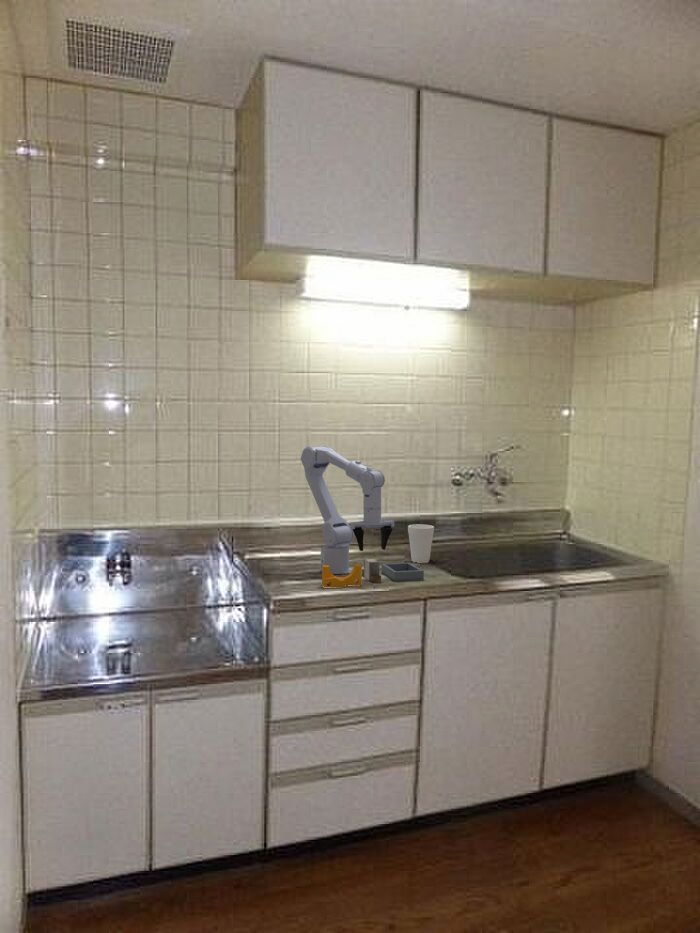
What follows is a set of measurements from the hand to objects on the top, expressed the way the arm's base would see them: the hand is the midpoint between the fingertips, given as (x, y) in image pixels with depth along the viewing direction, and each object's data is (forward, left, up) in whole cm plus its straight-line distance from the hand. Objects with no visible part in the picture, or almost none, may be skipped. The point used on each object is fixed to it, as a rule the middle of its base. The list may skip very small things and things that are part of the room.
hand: (372, 549), depth 214 cm
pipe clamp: (-12, -7, -10) cm, 17 cm away
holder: (0, 0, -9) cm, 9 cm away
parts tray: (+11, +1, -9) cm, 14 cm away
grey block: (0, 0, -10) cm, 10 cm away
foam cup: (+26, +22, -10) cm, 35 cm away
